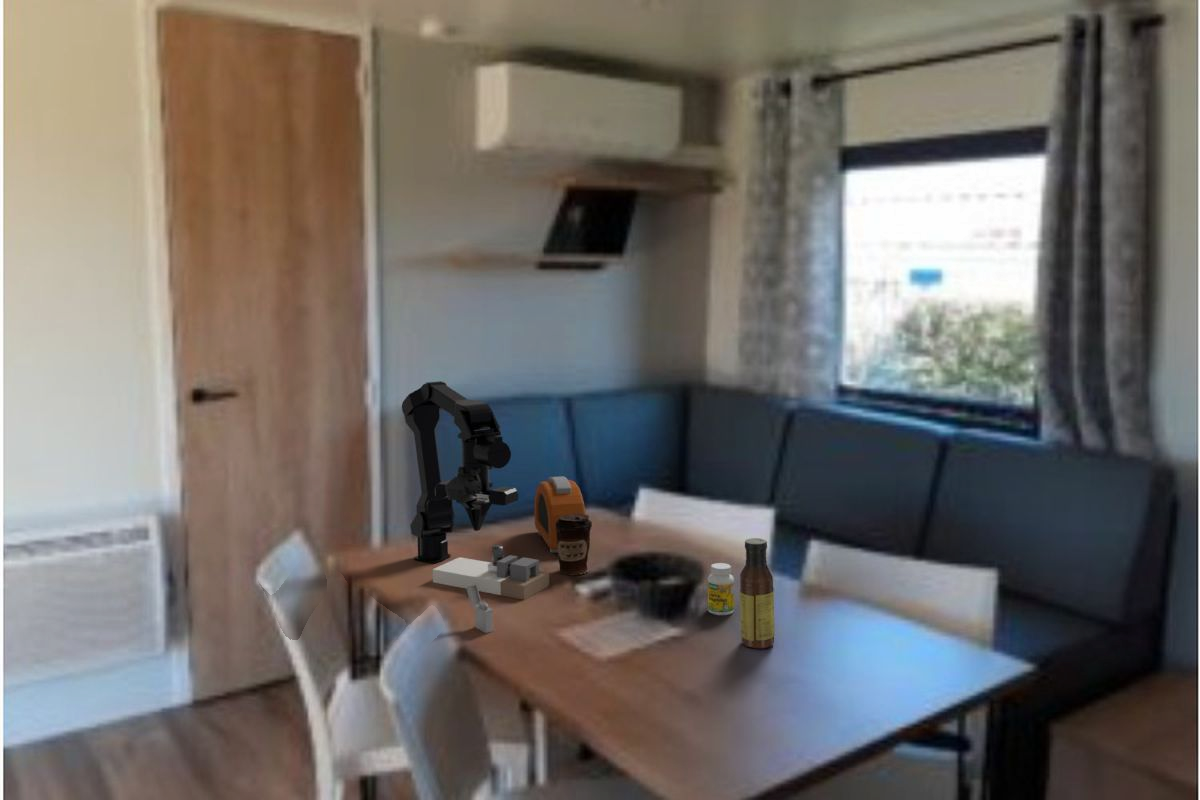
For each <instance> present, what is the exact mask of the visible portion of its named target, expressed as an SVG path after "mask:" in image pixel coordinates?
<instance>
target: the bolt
mask: <svg viewBox="0 0 1200 800" xmlns="http://www.w3.org/2000/svg"><path fill="white" fill-rule="evenodd" d="M491 549H492V550H491V552H492V553H491V554H492V555H491V556H492V557H491V561H492V562H490V564H488V571H489V572H494V573H497V561H499V560H501V559H503V558H504V546H503V545H501V544H497V545H492V546H491ZM508 575H511V574H510V565H508ZM530 576H531V568H529V577H530Z"/></svg>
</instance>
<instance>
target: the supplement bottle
mask: <svg viewBox="0 0 1200 800" xmlns="http://www.w3.org/2000/svg"><path fill="white" fill-rule="evenodd" d="M710 572H711V573H710V575H709V576H708V577H707V611H708V613H710V614H712V615H716V616H728V615H731V614H733V612H734V611H735V578H734V575H732V574H731V573H732V566H731V565H730V564H728V563H724V562H718V563H717V562H716V563H712V564H711V565H710Z"/></svg>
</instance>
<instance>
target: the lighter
mask: <svg viewBox="0 0 1200 800" xmlns="http://www.w3.org/2000/svg"><path fill="white" fill-rule="evenodd" d="M465 589H466V592H467V596H468V600H469V604H470V607H471V608H474V623H475V624H474V628H476V629H477V630H479V631H481V632H483V633H485V634H488V633H492V632H494V612H493V611H494V610H493V609H492V608H491V607H489V603H488V602H485V601H484V600H482V599H481V594H480V593H479V592H480V591H478V587H477V584H472V585H469V586H467V587H466V588H465Z"/></svg>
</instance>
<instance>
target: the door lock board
mask: <svg viewBox="0 0 1200 800" xmlns="http://www.w3.org/2000/svg"><path fill="white" fill-rule="evenodd" d="M490 563H491V562H489V561H484V560H478V559H471V558H467V557H461V556H460V557H456V558H455V559H452V560H450V561H448V562H446V563H444V564H441V565H438V566H437V567H435V568H432V583H435V584H440V585H445V586H450V587H454V588H455V587H456V588H462V589H466V587H467V586H469V585H472V584H477V587H478V591H479V592H482V593H487V594H488V593H489V594H494V595H498V596H502V597H503V596H504V597H509V598H513V599H519V600H527V599H529V598H530V597H532V596H534V595H535V594H538V593H539V592H541V591H542V590H544V589H546V588H548V587H549V586H550V573H549V572H548V571H546V572H545V571H542V570H541V571H540V560H539V559H535V558H529V557H524V556H523V557H521V558H519V557H518V556H517V555H511V554H510V555H507V556H506V557H505V556H504V557H503V559H501V560H499V561H497V573H494V572H489V571H488V564H490ZM508 565H510V574H511V575H508ZM529 568H531V576H530V577H529Z"/></svg>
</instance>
